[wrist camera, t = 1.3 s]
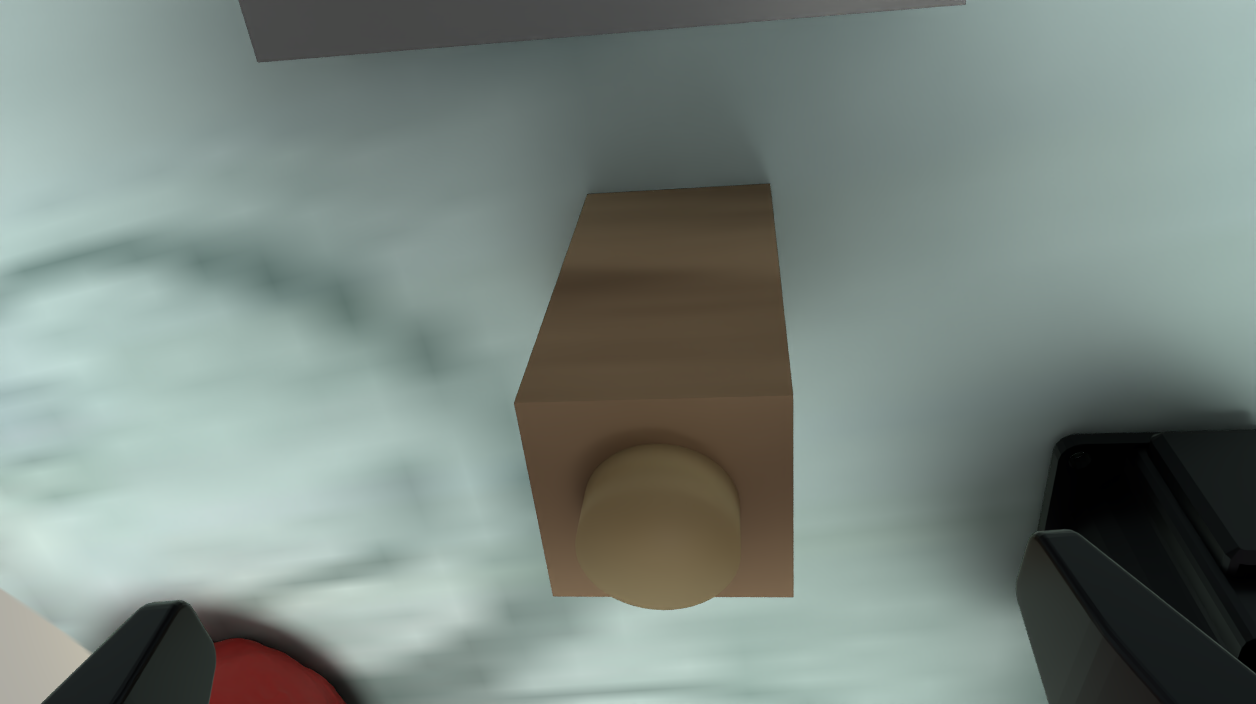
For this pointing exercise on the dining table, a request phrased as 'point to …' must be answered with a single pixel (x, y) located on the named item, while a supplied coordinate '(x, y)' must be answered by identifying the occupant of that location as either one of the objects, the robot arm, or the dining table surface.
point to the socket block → (503, 20)
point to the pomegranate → (265, 677)
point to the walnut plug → (664, 403)
